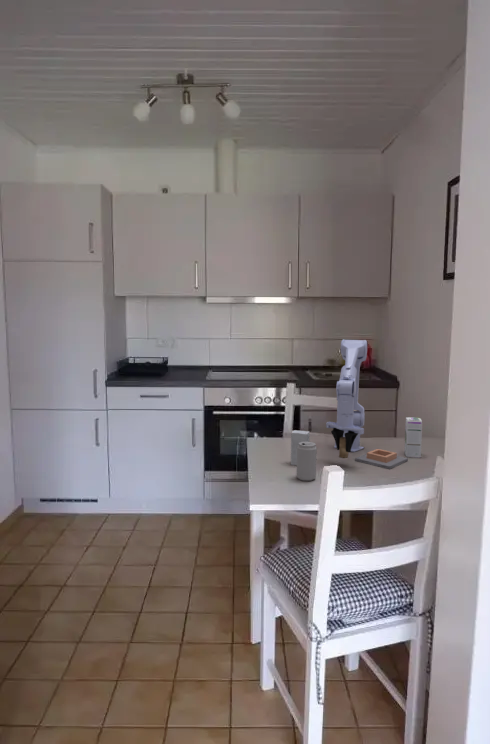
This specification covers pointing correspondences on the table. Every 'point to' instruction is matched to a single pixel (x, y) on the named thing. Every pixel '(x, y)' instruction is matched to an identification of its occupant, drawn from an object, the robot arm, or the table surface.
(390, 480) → the table surface
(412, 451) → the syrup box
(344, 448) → the wood peg
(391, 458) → the collar stand
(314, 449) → the beverage can
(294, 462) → the skincare box
